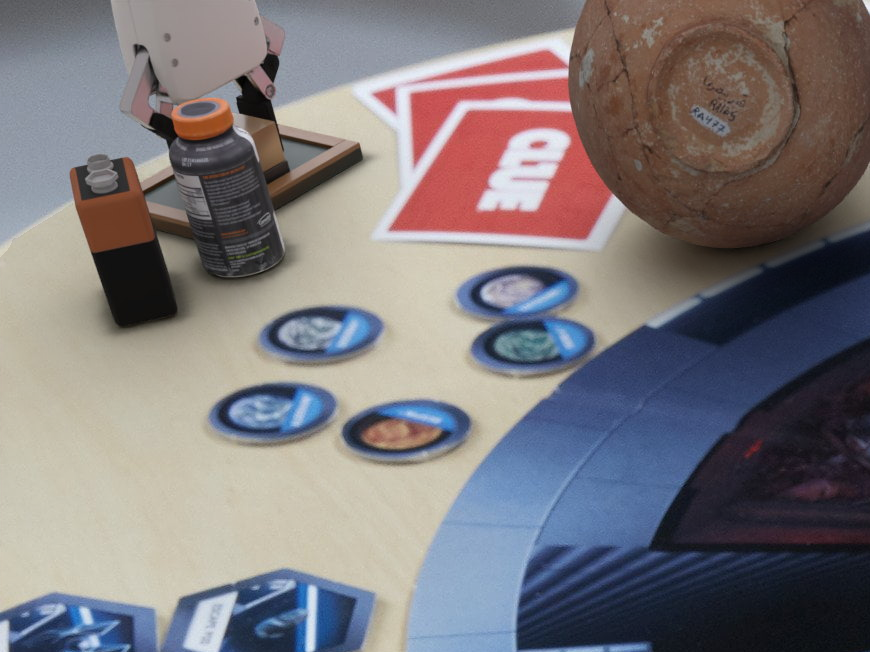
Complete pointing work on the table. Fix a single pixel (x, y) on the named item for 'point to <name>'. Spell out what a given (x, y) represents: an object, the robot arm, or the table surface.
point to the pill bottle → (223, 190)
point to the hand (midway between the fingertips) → (233, 167)
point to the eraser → (265, 145)
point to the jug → (724, 111)
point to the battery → (122, 240)
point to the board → (308, 168)
